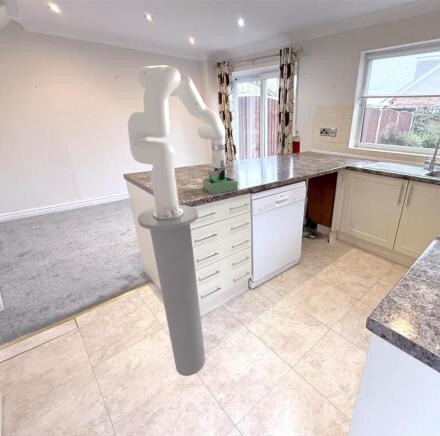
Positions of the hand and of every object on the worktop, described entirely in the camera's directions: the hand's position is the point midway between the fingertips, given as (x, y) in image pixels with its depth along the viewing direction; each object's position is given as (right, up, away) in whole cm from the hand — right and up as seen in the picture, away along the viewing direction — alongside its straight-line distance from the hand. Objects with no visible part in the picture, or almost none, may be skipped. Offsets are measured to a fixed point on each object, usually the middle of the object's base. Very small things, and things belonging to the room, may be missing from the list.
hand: (219, 178), depth 146 cm
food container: (0, -5, +2) cm, 5 cm away
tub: (0, -6, +3) cm, 7 cm away
